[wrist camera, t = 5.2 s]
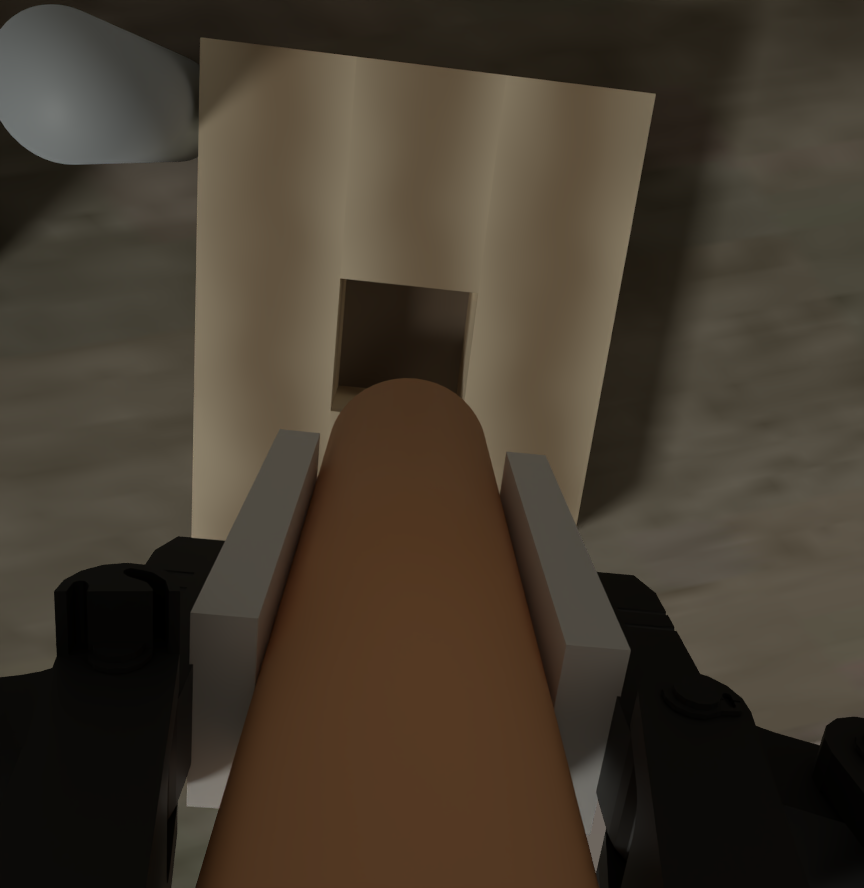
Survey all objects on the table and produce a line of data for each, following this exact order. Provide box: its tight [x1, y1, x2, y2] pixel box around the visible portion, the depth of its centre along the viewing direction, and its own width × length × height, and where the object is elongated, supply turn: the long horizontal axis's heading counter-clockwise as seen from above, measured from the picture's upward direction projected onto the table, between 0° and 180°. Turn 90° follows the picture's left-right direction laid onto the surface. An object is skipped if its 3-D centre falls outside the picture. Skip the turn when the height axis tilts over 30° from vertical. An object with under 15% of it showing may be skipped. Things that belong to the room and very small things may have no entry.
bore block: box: [192, 37, 656, 541], centre depth 30 cm, size 14×18×4 cm
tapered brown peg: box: [196, 378, 599, 888], centre depth 12 cm, size 4×4×14 cm
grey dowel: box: [0, 4, 200, 165], centre depth 25 cm, size 4×4×10 cm
